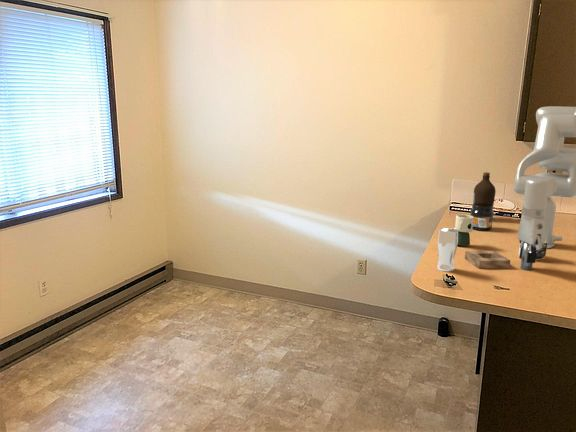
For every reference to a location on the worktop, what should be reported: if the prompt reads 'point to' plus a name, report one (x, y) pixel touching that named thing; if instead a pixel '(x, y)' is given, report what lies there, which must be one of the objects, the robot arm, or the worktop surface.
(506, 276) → the worktop surface
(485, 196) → the olive oil
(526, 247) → the metal peg
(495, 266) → the square ring frame
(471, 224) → the character mug
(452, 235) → the beer glass
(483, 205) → the supplement container
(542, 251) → the medicine bottle
